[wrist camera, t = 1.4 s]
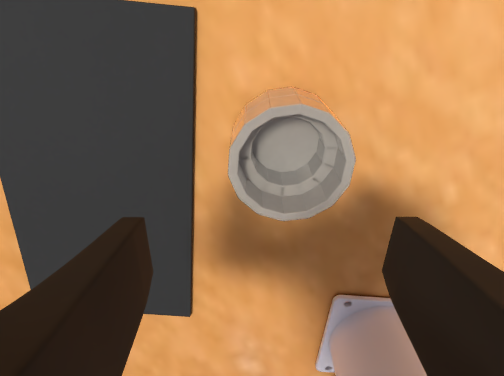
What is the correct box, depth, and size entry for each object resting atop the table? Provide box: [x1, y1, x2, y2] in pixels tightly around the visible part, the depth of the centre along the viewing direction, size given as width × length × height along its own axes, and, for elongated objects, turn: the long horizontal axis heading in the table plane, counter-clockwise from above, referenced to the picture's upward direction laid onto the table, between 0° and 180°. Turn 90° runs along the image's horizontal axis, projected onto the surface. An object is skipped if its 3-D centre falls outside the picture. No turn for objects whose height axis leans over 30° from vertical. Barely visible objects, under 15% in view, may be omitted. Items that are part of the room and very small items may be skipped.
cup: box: [228, 87, 356, 221], centre depth 18 cm, size 6×6×4 cm
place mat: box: [0, 0, 195, 317], centre depth 21 cm, size 11×20×1 cm, turn 175°
